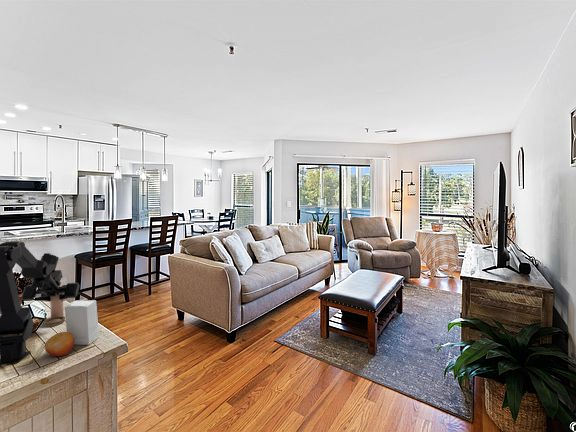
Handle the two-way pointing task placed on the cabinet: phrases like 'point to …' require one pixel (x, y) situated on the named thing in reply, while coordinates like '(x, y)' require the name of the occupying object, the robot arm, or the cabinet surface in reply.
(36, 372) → the cabinet surface
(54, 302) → the vase
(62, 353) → the fruit
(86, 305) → the skincare box
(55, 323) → the coaster
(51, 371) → the cabinet surface
